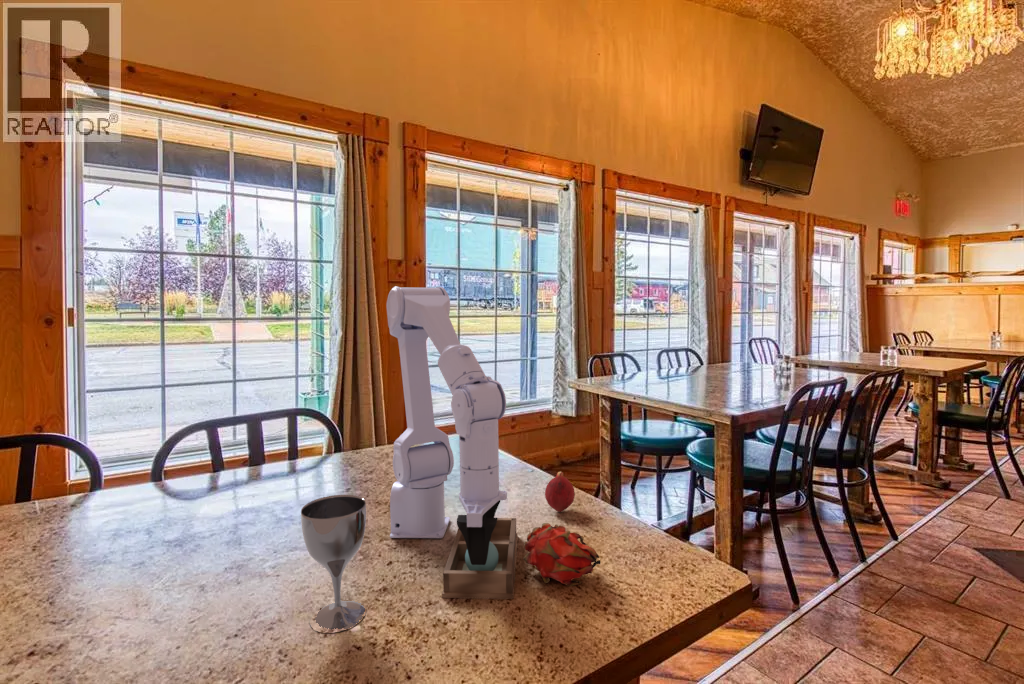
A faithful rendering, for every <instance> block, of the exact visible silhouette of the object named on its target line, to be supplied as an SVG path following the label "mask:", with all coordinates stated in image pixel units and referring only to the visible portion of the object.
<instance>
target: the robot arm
mask: <svg viewBox="0 0 1024 684" xmlns="http://www.w3.org/2000/svg"><path fill="white" fill-rule="evenodd" d="M385 305H386V315H387V326H388V328H389V329H388V330H389V334H390V335H391V336H392V337H395V338H396V339H397V342H398V343H397V344H398V349H399V357H400V358H399V359H400V368H401V369H400V370H401V379H402V387H403V389H402V390H403V399H404V407H405V408H404V409H405V417H406V427H407V428H406V429H405V430H404V431H403V433H401V434H400V435H399V437H397V438H396V439H395V441H394V442H393V457H392V469H393V473H394V477H395V479H396V481H395V482H393V484H392V487H391V489H390V496H389V510H390V511H389V513H390V517H389V518H390V534H389V538H391V539H392V538H393V539H443V538H444V536H445V534H446V531H447V529H448V526H449V523H450V521H451V517H449V516H446V515H445V513H446V512H445V511H446V510H445V508H446V507H445V506H446V505H445V482H446V481H448V476H450V475H451V474H452V472H453V469H454V466H455V465H454V464H455V458H454V453H453V450H452V448H451V444H450V439H449V435H448V434H447V433H446V432H444V431H442V430H441V429H440V428H438V427H436V424H435V417H434V416H435V415H434V414H435V413H434V405H433V398H432V397H433V396H432V387H431V378H430V377H431V376H430V368H429V360H428V359H429V358H428V350H427V349H428V348H427V341H428V339H430V340H431V342H432V344H433V345H434V347H435V349H436V350H437V352H438V353H439V358H438V360H437V367H438V369H439V370H440V373H441V374H442V376H443V379H444V381H445V383H446V386H447V387H448V389H449V391H450V393H451V395H452V397H451V401H450V406H451V407H450V408H451V412H452V416H453V419H454V425H455V432H456V435H458V436H459V439H458V441H459V444H458V445H459V485H460V486H459V488H460V490H459V493H458V499H459V502H460V503H461V506H462V508H463V509H464V511H465V513H466V514H458V515H457V518H456V526H457V529H458V528H459V530H460V531H461V533H462V535H463V537H464V539H465V542H466V546H467V550H468V554H469V558H470V562H471V564H472V565H485V564H486V561H487V556H488V550H489V542H490V540H491V534H492V532H493V530H494V528H495V526H496V523H497V518H498V517H495V516H496V512H497V509H498V507H499V505H500V503H501V501H506V500H507V499H508V498H507V497H508V491H506V490H501V489H500V471H499V470H500V467H499V465H500V462H499V461H500V459H499V457H500V455H499V453H500V451H499V420H500V419H502V418H503V416H504V415H505V413H506V410H507V399H506V393H505V391H504V388H503V386H502V385H501V383H500V382H499V381H497V380H494V379H492V376H487V375H486V374H485V372H484V370H483V368H482V367H481V365H480V363H479V361H478V359H477V358H476V356H475V354H474V352H473V351H472V349H471V348H470V347H469V346H467V345H465V344H461V343H460V342H461V341H460V339H459V338H458V337H459V336H458V335H457V333H456V330H455V328H454V325H453V323H452V320H451V318H450V312H451V311H450V310H451V300H450V297H449V294H448V292H447V290H446V289H445V288H444V287H442V286H437V287H400V286H396V285H395V286H393V287H392V288H391V290H390V291H389V293H388V295H387V300H386V304H385ZM427 443H429V444H427ZM421 444H423V445H421ZM416 445H417V446H416Z"/></svg>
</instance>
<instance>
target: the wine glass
mask: <svg viewBox="0 0 1024 684" xmlns="http://www.w3.org/2000/svg"><path fill="white" fill-rule="evenodd" d="M300 521H301V522H300V523H301V532H302V535H303V541H304V543H305V547H306V550H307V552H308V554H309V556H311V558H312V559H313V560H314V561H315V562H316V563H317V564H319V565H321V566H322V567H323V568H324V569H325V570H326V571H327V572H328V574H329V575H330V578H331V582H332V587H333V595H334V596H333V597H334V602H335V603H332V602H331V603H332V604H329V603H328V604H329V605H327V604H326V605H327V606H325V605H324V606H325V607H323V606H322V607H323V608H322V609H321V610H320V611H319V612H318V614H317V617H316V618H315V620H316V623H318V624H319V626H320V627H321V626H322V627H323V628H324V627H325V628H327V629H328V628H329V629H331V630H332V629H334V628H335V629H336V628H338V629H342V628H344V629H348V628H350V627H352V626H353V628H354V627H356V626H357V625H356V623H358V622H359V620H361V619H362V617H363V616H362V615H363V614H364V612H365V608H366V607H365V608H364V606H365V605H364V604H363V605H364V606H363V605H361V604H362V603H361V602H360V603H358V602H359V601H357V602H355V601H356V600H353V601H342V599H341V590H342V589H341V588H342V579H343V573H344V571H345V569H346V567H347V566H348V564H349V562H351V561H352V559H353V558H354V556H356V554H357V553H358V552H359V550H360V548H361V547H362V544H363V542H364V541H363V540H364V536H365V532H366V524H367V506H366V500H365V499H364V497H362V496H359V495H356V494H334V495H328V496H323V497H320V498H317V499H314V500H312V501H310V502H307V503H306V504H304V506H302V508H301V510H300ZM355 625H356V626H355ZM348 630H349V629H348Z"/></svg>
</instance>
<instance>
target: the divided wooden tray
mask: <svg viewBox="0 0 1024 684" xmlns="http://www.w3.org/2000/svg"><path fill="white" fill-rule="evenodd" d="M496 518H497V523H496V526H495V528H494V530H493V532H492V534H491V540H490V542H492V543H493V544H494V545H495V547H496V548H497V551H498V556H499V558H498V563H497V566H496V568H495V569H494V570H493V571H470V570H469V569H468V567H467V565H466V562H465V554H466V550H467V546H466V542H465V539H464V537H463V535H462V533H461V531H460V530H459V528H458V527H457V531H456V533H455V538H454V540H453V543H452V545H451V550H450V552H449V555H448V558H447V561H446V564H445V567H444V570H443V573H442V577H443V579H442V581H443V582H442V584H443V589H442V592H441V598H442V599H493V600H494V599H497V600H498V599H499V600H501V599H504V600H505V599H506V600H508V599H509V600H510V599H511V600H512V599H514V595H515V594H514V593H515V591H514V590H515V581H516V579H515V578H516V565H517V563H516V562H517V552H518V551H517V549H518V535H519V533H518V532H517V518H515V517H513V518H512V517H507V518H506V517H496Z"/></svg>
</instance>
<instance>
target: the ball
mask: <svg viewBox="0 0 1024 684" xmlns="http://www.w3.org/2000/svg"><path fill="white" fill-rule="evenodd" d="M498 558H499V556H498V551H497V548H496V547H495V545H494V544H493V543H492V542H489V550H488V556H487V561H486V564H485V565H472V564H471V562H470V558H469V554H468V550H466V554H465V562H466V565H467V567H468V569H469V570H470V571H493V570H494V569H495V568H496V566H497V563H498Z"/></svg>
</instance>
